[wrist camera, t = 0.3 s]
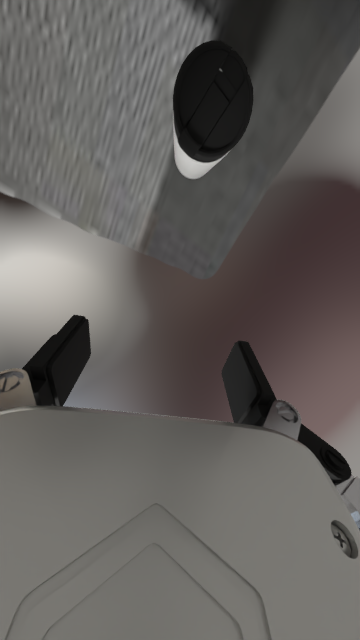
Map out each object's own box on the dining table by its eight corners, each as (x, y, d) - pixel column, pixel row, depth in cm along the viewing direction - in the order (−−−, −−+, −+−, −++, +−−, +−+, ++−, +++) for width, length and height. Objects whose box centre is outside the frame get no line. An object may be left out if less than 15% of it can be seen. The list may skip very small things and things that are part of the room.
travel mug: (165, 161, 31) (152, 115, 14) (191, 116, 28) (214, -8, 11) (194, 190, 33) (212, 180, 16) (220, 151, 30) (276, 91, 13)
